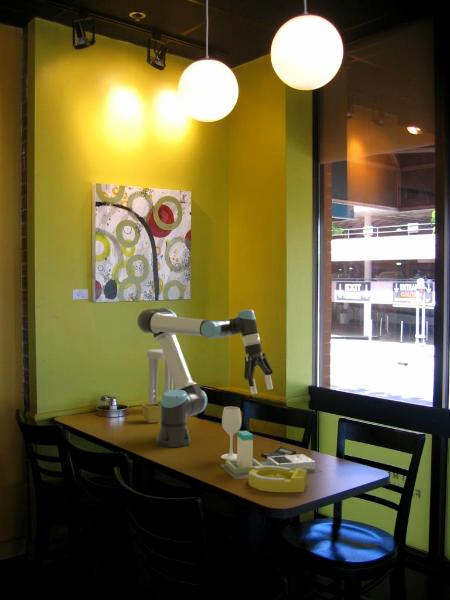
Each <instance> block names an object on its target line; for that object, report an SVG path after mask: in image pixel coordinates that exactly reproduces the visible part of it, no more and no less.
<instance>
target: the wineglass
mask: <svg viewBox="0 0 450 600" xmlns="http://www.w3.org/2000/svg"><path fill="white" fill-rule="evenodd" d="M221 415H222V416H221V425H222V426H221V427H222V429H223V430H224V432H226V433H227V434H228V435H229V453H225V454H222V455H221V456H220V458H221V459H224V460H237V453H234V452H233V438H234V435H235V434H237V432H238V431H240V429H241V427H242V412H241V409H240V407H238V406H224V408H223V411H222V414H221Z"/></svg>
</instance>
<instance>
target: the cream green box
mask: <svg viewBox="0 0 450 600" xmlns="http://www.w3.org/2000/svg"><path fill="white" fill-rule="evenodd" d="M236 435H237V438H236V441H237V443H236V444H237V445H236V454H237V459H236V460H237V467H250V466H252V464H253V459H254V458H253V457H254V456H253V455H254V454H253V452H254V434H252V433H251V432H249V431H248V430H239V431H238V432H236Z"/></svg>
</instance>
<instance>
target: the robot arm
mask: <svg viewBox="0 0 450 600" xmlns="http://www.w3.org/2000/svg"><path fill="white" fill-rule="evenodd" d="M257 324H258V323H257V318H256V316H255V311H254V310H253V309H245V310H241V311H238V312H237V316H236V317H234V318H229V319H219V320H214V319H213V320H212V319H201V318H192V317H182V316H181V317H180V316H177V314H176V313H175V312H174V311H173V310H172V309H169V308H164V307H163V308H162V307H160V308H147V309H143V311H141V312H140V313H139V315H138V317H137V327H138V328H139V329H140V330H141V332H143V333H145V334H152V335H153V338H154V340H155V341H158V342H159V345H160V349H162V351H163V353H164V356H165V359H166V362H167V364H168V367H169V370H170V373H171V375H172V378H173V385H174V386H175V389H173V391H172V390H171V391H167V392H165V393H164V392H163V394H162V395H161V400H160V405H161V419H160V428H159V432H158V435H157V437H156V445H158V446H160V447H166V448H182V447H187V446H188V444H189V445H190V444H191V437H190V434H189V430H188V427H187V424H188V423H187V422H188V421H187V418H189V417H191V416H196V415H198V414H201V413H202V412H204V410H205V409H206V407H207V404H208V396H207V394H206V392H205V391H204V390H202V389H201V388H200V387H199V385H198V383H197V382H195V381H193V378H192V376H191V372H190V370H189V367H188V364H187V362H186V359H185V356H184V354H183V350H182V348H181V345H180V343H179V340H178V337H177V334H179V335H187V336H196V337H204V338H206V339H217V338H221V339H223V338H229V337H232V336H235V335H239V334H241V338H242V341H243V342H242V343H243V346H244V351H245V355H247V356H244V373H243V374H244V376H243V377H244V379H245V380H247V381H248V386H249V389H250V394H251V395H256V394H258V390H257V389H258V388H257V385H256V380H255V378H254V375H255V370H256V367H257V366H259V369H260V370H261V371H262V372H263V373H264V374H265V375H264V381H265V384H266V389H267V390H268V391H269V390H273V389H274V386H273V381H272V377H271V375H273V373H274V371H273V369H272V366H271V365H270V363H269V361H268V358H267V357H266V353H265V352H263V346H262V343H261V338H260V334H259V330H258V325H257ZM261 352H263V353H261ZM165 359H164V360H165ZM181 446H182V447H181Z"/></svg>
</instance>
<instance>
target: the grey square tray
mask: <svg viewBox="0 0 450 600" xmlns="http://www.w3.org/2000/svg"><path fill="white" fill-rule="evenodd" d="M259 462H260V461H258V460H257V459H255V458H253V465H254V466H250V467H237V468H236V467H235V466H236V465H237V459H236V460H228V459H226V460H225V464H226V466H227V467H228V468H229V469H230V470H231V471H232V472H233V473H234V474H236V473H249V472H250V471H251V470H252V469H255V467H258V466H263V465H262V464H260V463H259Z"/></svg>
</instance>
